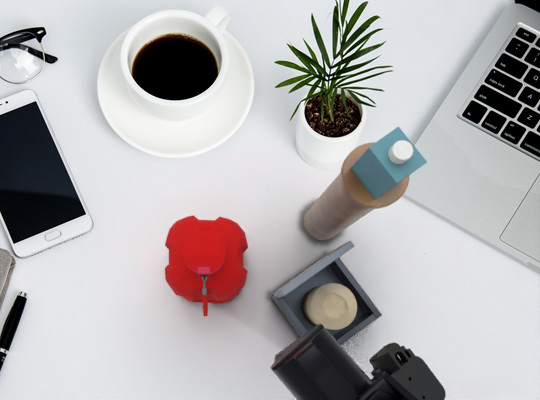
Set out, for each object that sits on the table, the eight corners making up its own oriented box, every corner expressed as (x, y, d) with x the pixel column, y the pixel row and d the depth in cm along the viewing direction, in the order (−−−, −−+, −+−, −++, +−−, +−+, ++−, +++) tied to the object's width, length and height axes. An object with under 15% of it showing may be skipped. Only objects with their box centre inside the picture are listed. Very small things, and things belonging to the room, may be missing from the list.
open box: (371, 314, 82) (382, 315, 77) (313, 356, 82) (320, 360, 76) (327, 256, 84) (335, 252, 78) (270, 296, 83) (274, 295, 78)
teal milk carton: (401, 180, 55) (433, 157, 47) (375, 199, 55) (402, 179, 47) (376, 149, 56) (403, 120, 48) (350, 167, 56) (372, 142, 47)
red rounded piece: (174, 314, 84) (154, 315, 59) (176, 234, 86) (158, 203, 61) (242, 317, 83) (250, 318, 58) (243, 236, 85) (252, 205, 60)
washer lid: (355, 246, 68) (350, 240, 68) (284, 296, 67) (280, 290, 67) (337, 254, 78) (334, 249, 78) (276, 298, 77) (272, 293, 77)
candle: (350, 300, 82) (368, 298, 72) (330, 335, 81) (345, 339, 71) (314, 278, 83) (327, 273, 73) (293, 313, 82) (303, 313, 72)
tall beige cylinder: (352, 227, 84) (423, 181, 55) (317, 252, 84) (369, 220, 55) (326, 192, 86) (381, 129, 56) (291, 217, 85) (328, 166, 56)
